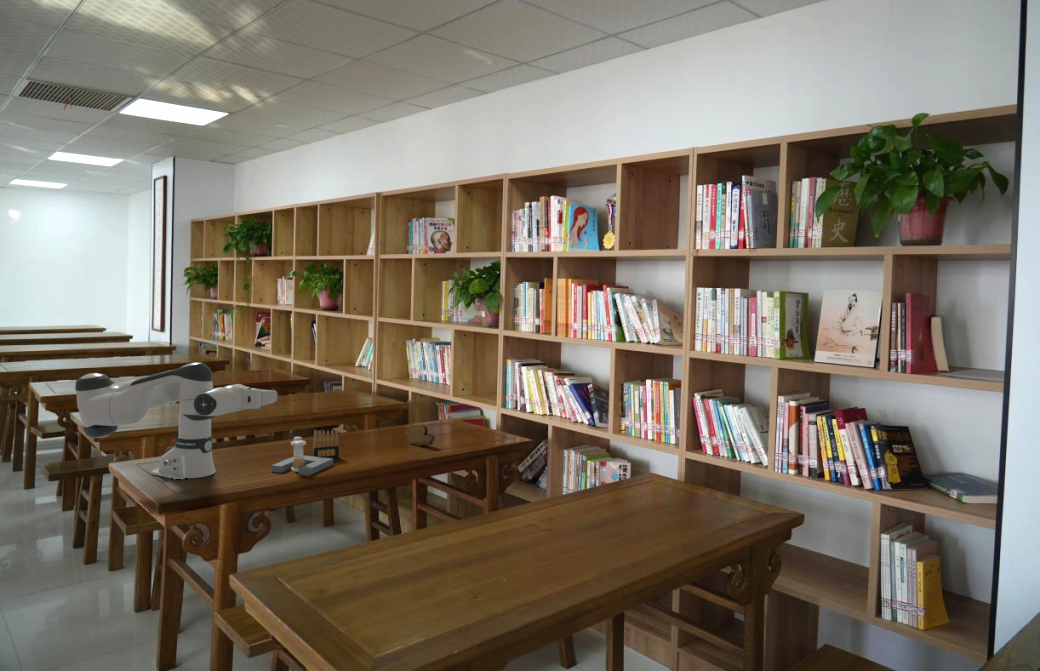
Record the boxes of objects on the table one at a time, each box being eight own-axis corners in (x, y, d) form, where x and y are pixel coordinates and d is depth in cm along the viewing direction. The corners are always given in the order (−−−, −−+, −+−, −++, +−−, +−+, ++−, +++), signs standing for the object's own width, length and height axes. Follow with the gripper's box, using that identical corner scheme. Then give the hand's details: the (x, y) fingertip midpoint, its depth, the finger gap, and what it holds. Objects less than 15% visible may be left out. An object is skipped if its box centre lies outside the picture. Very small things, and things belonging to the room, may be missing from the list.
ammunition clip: (313, 460, 293) (313, 431, 293) (312, 459, 295) (312, 430, 294) (338, 457, 299) (339, 429, 298) (337, 456, 301) (338, 428, 300)
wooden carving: (437, 446, 325) (437, 425, 324) (431, 448, 321) (431, 426, 320) (409, 441, 333) (409, 420, 332) (402, 443, 329) (403, 422, 328)
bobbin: (288, 471, 276) (287, 442, 275) (296, 467, 281) (296, 440, 280) (300, 472, 274) (300, 444, 274) (309, 468, 280) (308, 441, 279)
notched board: (271, 471, 274) (271, 444, 273) (297, 460, 291) (298, 435, 291) (308, 475, 270) (308, 448, 269) (332, 464, 287) (333, 438, 287)
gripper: (209, 404, 242) (236, 398, 255) (262, 409, 236) (286, 402, 250) (209, 386, 241) (236, 381, 255) (262, 390, 236) (286, 384, 249)
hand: (261, 391), depth 252 cm, fingers open, 8 cm apart
